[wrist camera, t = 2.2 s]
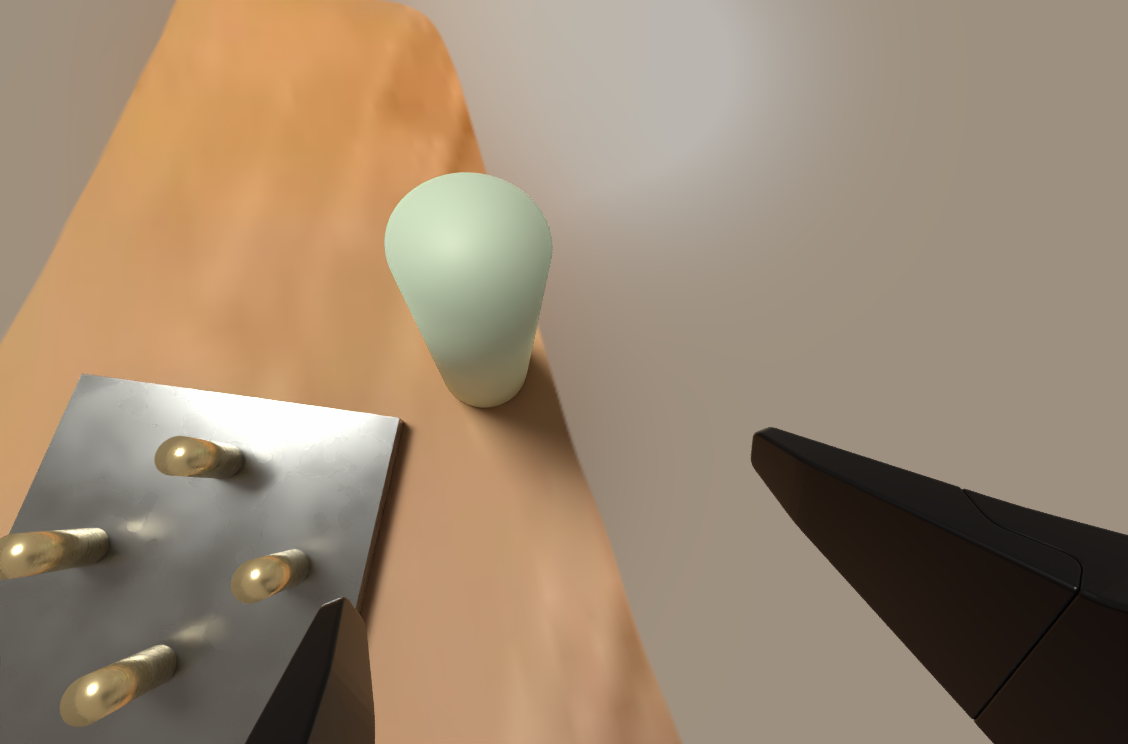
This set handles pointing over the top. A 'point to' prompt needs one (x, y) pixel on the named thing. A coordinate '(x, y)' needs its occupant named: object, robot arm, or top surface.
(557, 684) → the top surface
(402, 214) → the mint green tapered post
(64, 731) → the chassis plate
